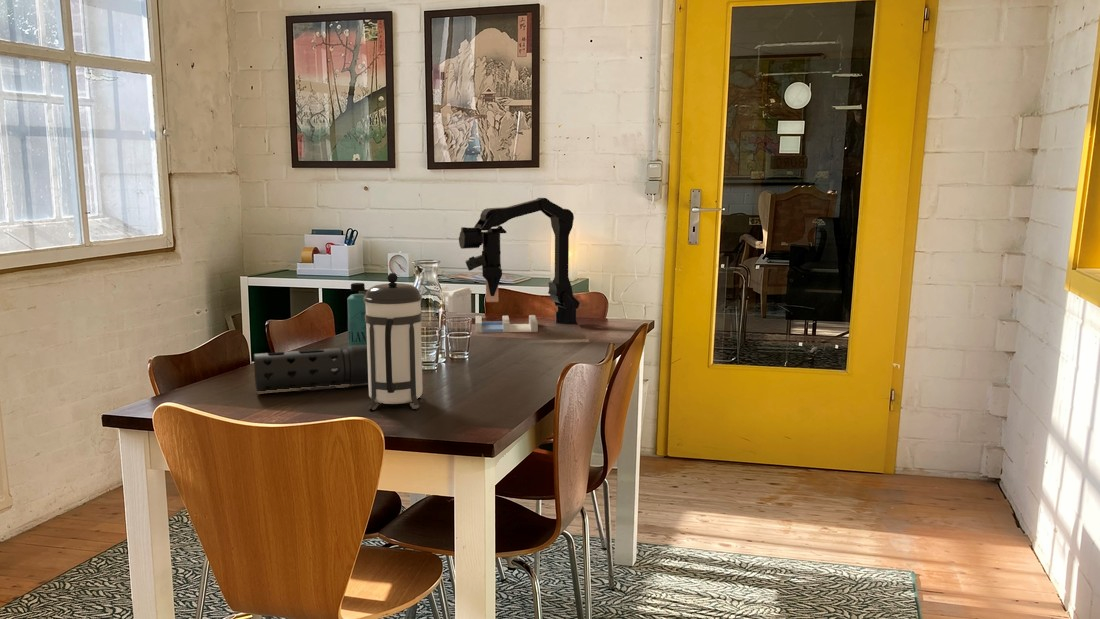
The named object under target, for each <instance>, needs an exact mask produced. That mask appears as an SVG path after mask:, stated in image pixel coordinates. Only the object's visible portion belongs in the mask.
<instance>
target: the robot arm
mask: <svg viewBox="0 0 1100 619" xmlns="http://www.w3.org/2000/svg"><path fill="white" fill-rule="evenodd" d="M537 212H541V213H543V214H544V216H547V217H548V218H549V220H550V223H551V228H552V231H553V234H554V277H553V280H552V281H548V292H547V293H548V295H549V298H550V299H551V300H552V302H553V303H554V305H555V307H556V311H555V320H554V321H555V324H557V325H559V324H562V325H571V324H576V323H577V309H579V306H580V301H579V300H578V299H577V298H575V296H574V293H573V286H572V284H571V281H570V277H569V260H570V259H569V258H570V257H569V255H570V254H569V253H570V252H569V248H570V247H569V244H570V243H569V241H570V240H569V239H570V238H569V236H570V233H571V232H572V229H573V225H574V219H575V217H574V213H573V212H572V210H570V209H568V208H564V207H563V206H562V207H561V206H560V205H557V204H555V203H554V202H552V200H551V201H550V199H548V198H546V197H537V198H536V199H532V200H528V201H524V202H521V203H517V204H513V205H510V206H505V207H489V208H487V207H486V208H485V209H483V210H482V211H481V212H480V216H479V217H480V218H479V219H478V221H477V222H476V223H475V225H474V226H473V227H465V226H464V227H463V226H462V227H460V232H459V237H458V244H459V247H460V249H462V250H463V249H464V250H465V249H479V248H480V247H481V246H482V251H481V254H480V255H478V256H474V255H473V256H471V257H469V258H468V259H466V260H465V264H466V267H467V270H468V271H469V272H470V271H472V270H474V269H476V268H479V267H482V268H481V272H482V277H483V278H484V279H485V281H486V280H487V281H488V285H489V290H490V295H491V296H494V295H495V292H496V289H497V287H498V288H499V284H500V282H501V279H502V276H503V268H502V264H501V262H502V260H501V255H502V254H501V252H502V251H501V234H507V230H506V229H505V228H503V226H502V225H503V224H506V223H507V222H509V221H510V220H512V219H514V218H520V217H522V216H525V215H529V214H534V213H537Z"/></svg>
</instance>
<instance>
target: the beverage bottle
mask: <svg viewBox="0 0 1100 619" xmlns="http://www.w3.org/2000/svg"><path fill="white" fill-rule="evenodd" d="M365 286H366V285H365V283H364V282H353V283H351V284H350V291H351V292H364V291H366V287H365ZM364 296H366V293H365V294H364V293H354V294H353V293H352V294H350V295H349V296H348V297H347V298H346V299H347V300H346V301H347V338H348V339H347V340H348V342H347V344H348V347H349V346H355V345H366V346H367V328H366V322H365V313H366V304H365V302H364Z"/></svg>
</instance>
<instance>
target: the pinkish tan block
mask: <svg viewBox="0 0 1100 619" xmlns="http://www.w3.org/2000/svg"><path fill="white" fill-rule="evenodd" d="M485 302H486V303H499V286H498V287H497V289H496V292H495V295H494V296H491V295H490V290H489V285H488V281H487V280H486V279H485Z"/></svg>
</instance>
